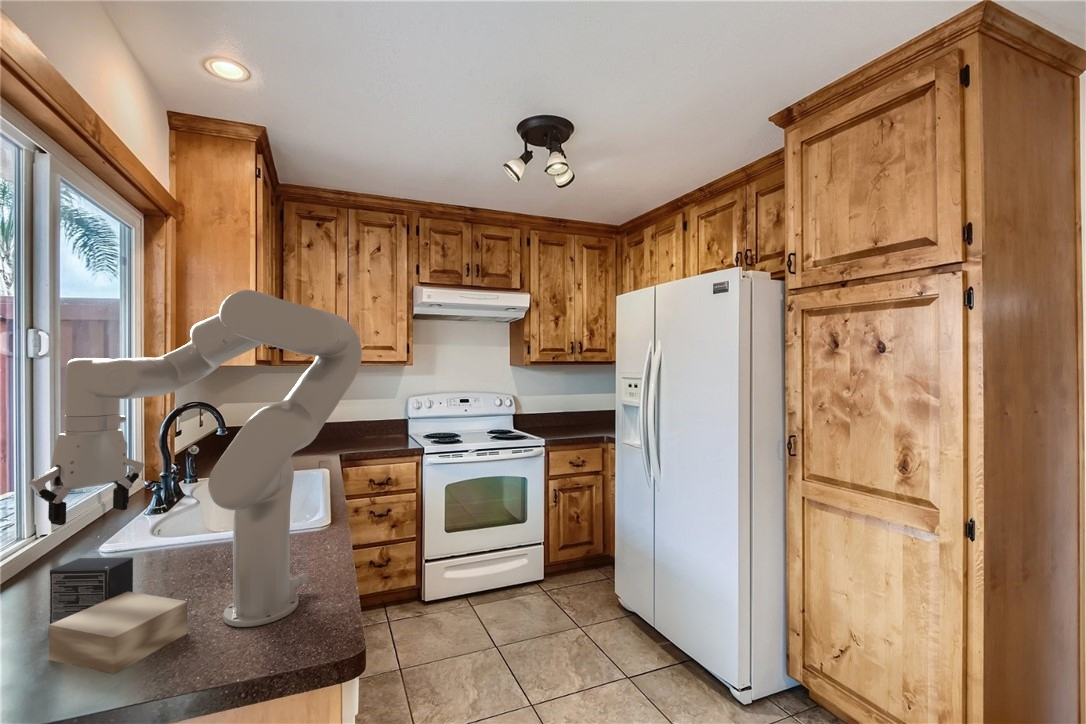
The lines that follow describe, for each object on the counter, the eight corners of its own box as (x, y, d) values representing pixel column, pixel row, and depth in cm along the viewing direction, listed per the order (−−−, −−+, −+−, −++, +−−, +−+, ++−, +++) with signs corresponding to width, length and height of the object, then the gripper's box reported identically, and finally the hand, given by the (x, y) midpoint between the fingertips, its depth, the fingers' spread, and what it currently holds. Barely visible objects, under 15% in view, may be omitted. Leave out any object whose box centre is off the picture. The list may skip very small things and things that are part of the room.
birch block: (127, 623, 92) (127, 591, 92) (187, 635, 89) (187, 601, 89) (48, 661, 81) (48, 624, 81) (113, 676, 77) (113, 637, 77)
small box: (136, 609, 97) (136, 555, 97) (107, 627, 90) (107, 569, 90) (79, 610, 97) (79, 556, 97) (47, 628, 90) (47, 570, 90)
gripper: (131, 418, 103) (129, 502, 103) (19, 428, 87) (17, 527, 87) (155, 420, 100) (153, 506, 100) (45, 431, 84) (43, 533, 84)
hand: (90, 516), depth 93 cm, fingers open, 9 cm apart
